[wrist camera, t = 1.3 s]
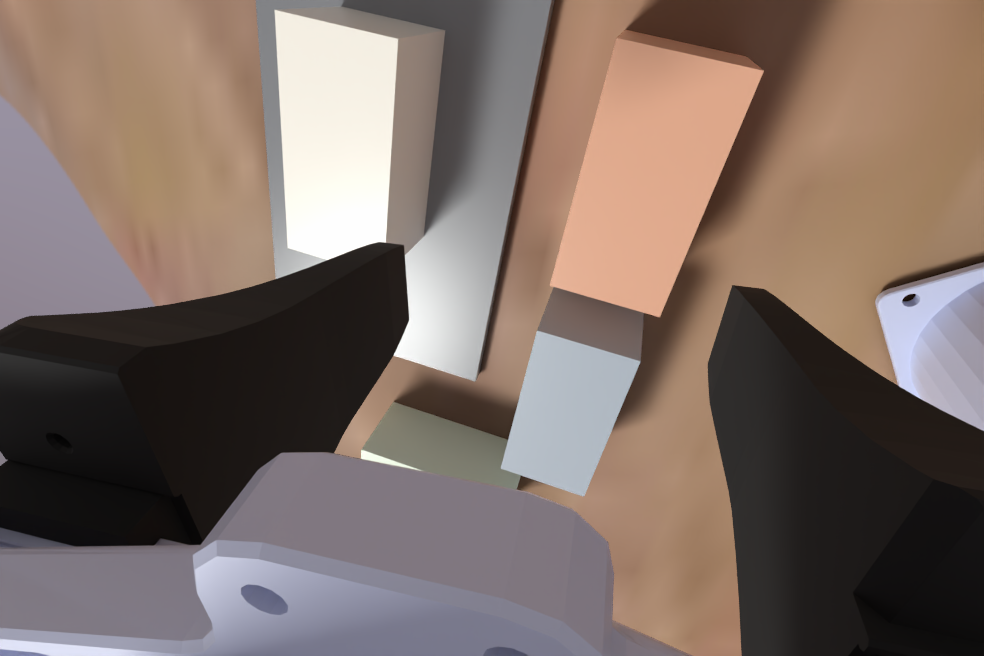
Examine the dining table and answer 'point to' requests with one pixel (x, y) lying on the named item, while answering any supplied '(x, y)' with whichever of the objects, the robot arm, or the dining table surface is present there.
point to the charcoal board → (444, 163)
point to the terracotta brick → (651, 167)
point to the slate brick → (573, 389)
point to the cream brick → (355, 127)
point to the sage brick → (438, 447)
